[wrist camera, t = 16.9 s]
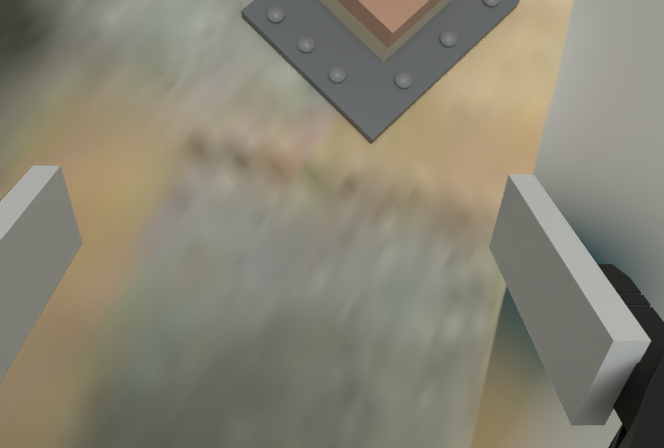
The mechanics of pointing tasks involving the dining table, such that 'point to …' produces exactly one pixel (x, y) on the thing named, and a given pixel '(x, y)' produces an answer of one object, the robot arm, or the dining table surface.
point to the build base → (363, 65)
